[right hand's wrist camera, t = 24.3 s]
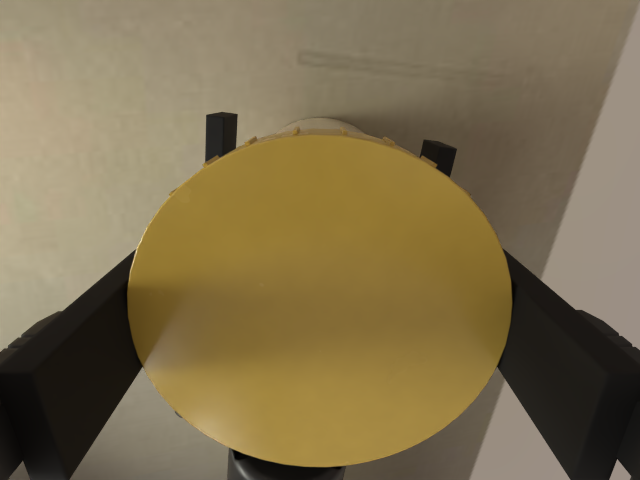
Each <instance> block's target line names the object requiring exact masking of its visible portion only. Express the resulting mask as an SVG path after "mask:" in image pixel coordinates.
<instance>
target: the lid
mask: <svg viewBox="0 0 640 480" xmlns="http://www.w3.org/2000/svg"><path fill="white" fill-rule="evenodd" d="M203 166H204V168H203V169H201V170H200V171H198V172H197V173H196V174H195V175H193V176H192V177H191V178H190V179H188V180H187V181H186V182H184V183H183V184H182V185H181V186H179V187H178V188H176V189H175V190H173V191H172V192H171V193H170V194H169V195H170V197H169V198H168V199H167V200H166V201H165V202H164V203H163V204H162V206H161V207H160V208H159V210H158V211H157V213H156V214H155V216H154V217H153V219H152V220H151V222H150V223H149V224H148V226H147V228H146V230H145V232H144V234H143V236H142V238H141V240H140V242H139V245H138V247H137V249H136V253H135V256H134V259H133V263H132V266H131V269H130V276H129V283H128V291H127V308H128V319H129V324H130V329H131V334H132V339H133V343H134V346H135V349H136V352H137V355H138V358H139V360H140V362H141V364H142V366H143V368H144V370H145V372H146V374H147V376H148V377H149V379H150V380H151V382H152V383H153V385H154V386H155V388H156V389H157V390H158V392H159V393H160V395H161V396H162V397H163V398H164V399H165V400H166V401H167V403H168V404H169V405H170V406H171V407H172V408H173V409H174V410H175V411H176V412H177V413H178V414H179V415H180V416H182V417H183V418H184V419H185V420H186V421H187V422H188V423H190V424H191V425H192V426H194V427H195V428H197V429H198V430H199V431H201V432H202V433H204V434H205V435H207V436H208V437H210V438H212V439H214V440H216V441H217V442H219V443H221V444H223V445H225V446H227V447H229V448H232V449H234V450H236V451H238V452H241V453H243V454H246V455H249V456H253V457H256V458H259V459H262V460H266V461H271V462H275V463H280V464H286V465H294V466H303V467H334V466H347V465H353V464H359V463H365V462H370V461H373V460H377V459H381V458H384V457H388V456H391V455H393V454H396V453H398V452H401V451H404V450H406V449H409V448H411V447H413V446H415V445H417V444H419V443H420V442H422V441H424V440H426V439H428V438H429V437H431V436H433V435H434V434H436V433H437V432H439V431H440V430H442V429H444V428H445V427H446V426H447V425H448V424H450V423H451V422H452V421H453V420H455V419H456V418H457V417H458V416H460V415H461V414H462V413H463V412H464V410H465V409H466V408H467V407H468V406H469V405H470V404H471V403H472V402H473V401H474V400H475V399H476V398H477V396H478V395H479V394H480V392H481V391H482V390H483V388H484V387H485V386H486V384H487V383H488V381H489V379H490V378H491V376H492V374H493V372H494V371H495V369H496V367H497V365H498V363H499V361H500V358H501V356H502V353H503V351H504V348H505V346H506V341H507V337H508V332H509V328H510V323H511V314H512V287H511V278H510V273H509V269H508V264H507V260H506V257H505V254H504V251H503V249H502V246H501V244H500V241H499V239H498V236H497V234H496V233H495V231H494V229H493V227H492V226H491V224H490V223H489V221H488V219H487V218H486V216H485V214H484V213H483V212H482V211H481V209H480V208H479V207H478V206H477V205H476V203H475V202H474V201H473V200H472V198H471V197H470V195H471V194H470V193H469V192H467V191H466V190H464V189H463V188H461V187H460V186H458V185H457V184H456V183H455V182H454V181H453V180H451V179H450V178H449V177H448V176H447V175H445V174H444V173H442V172H440V171H439V170H437V169H436V166H437V164H436V163H434V162H432V161H431V160H429V159H427V158H426V157H424V156H422V157H421V158H419V157H418V156H416V155H414V154H413V153H411V152H410V151H408V150H406V149H403V148H401V147H399V146H397V145H395V142H393V141H392V140H390V139H389V138H387V137H385V136H384V137H383V139H380V138H376V137H373V136H370V135H367V134H364V133H358V132H352V131H347V130H346V128H345V127H342V126H340V129H315V128H312V129H303V130H300V127H299V126H297V127H295V128H294V130H293V131H286V132H282V133H278V134H273V135H269V136H265V137H262V138H259V139H257V137H256V136H255V137H252V138H251V139H249V140H248V141H246V142H245V144H244V145H242V146H239V147H238V148H236V149H234V150H232V151H231V152H229V153H227V154H225V155H224V156H222V157H220V158H219V157H218V155H217V156H215V157H214V158H212V159H210V160H209V161H207V162H205V163H204V164H203Z"/></svg>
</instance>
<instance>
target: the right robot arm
mask: <svg viewBox="0 0 640 480" xmlns="http://www.w3.org/2000/svg"><path fill="white" fill-rule="evenodd" d="M502 249H503V248H502ZM503 251H504V254H505V257H506V260H507V264H508V269H509V273H510V278H511V287H512V314H511V323H510V328H509V332H508V337H507V341H506V346H505V348H504V351H503V353H502V356H501V358H500V361H499V363H498V365H497V367H498V369H499V370H500V372H501V373H502V375H503V376H504V378H505V379H506V381H507V383H508V384H509V386H510V387H511V389H512V390H513V392H514V393H515V395H516V396H517V398H518V400H519V401H520V402H521V404H522V406H523V407H524V409H525V410H526V412H527V413H528V415H529V416H530V418H531V420H532V421H533V423H534V424H535V426H536V427H537V429H538V430H539V432H540V433H541V435H542V436H543V438H544V439H545V441H546V443H547V444H548V446H549V447H550V449H551V450H552V452H553V453H554V455H555V456H556V458H557V460H558V461H559V462H560V464H561V466H562V467H563V469H564V470H565V472H566V473H567V475H568V477H569V478H570V480H609V479H610V476H611V474H612V471H613V468H614V466H615V463H616V461H617V459H618V460H619V462H620V463H621V464H622V465H623V466H624V468H625V469H626V470H627V471H628V473H629V474H630V475H631V479H630V480H640V350H639V349H637V348H636V347H632V344H631V343H630V342H629V341H627V340H626V339H625V338H624V337H622V336H619V333H618V332H616V331H615V330H614V329H613V328H611V327H610V326H609V325H608V324H606V323H605V322H604V321H602V320H600V319H598V318H596V317H594V316H592V315H591V314H589V313H587V312H585V311H583V310H575V309H574V308H573V307H571V306H570V305H569V304H568V303H567V302H566V301H564V300H563V299H562V298H561V297H560V296H558V295H557V294H556V293H555V292H554V291H553V290H551V289H550V288H549V287H548V286H547V285H545V284H544V283H543V282H542V281H541V280H540V279H538V278H537V277H536V276H535V275H534V274H532V273H531V272H530V271H529V270H528V269H527V268H525V267H524V266H523V265H522V264H521V263H519V262H518V261H517V260H516V259H515V258H514V257H512V256H511V255H510V254H509V253H508V252H506V251H505V250H504V249H503ZM135 253H136V250H134V251H133V252H132V253H131V254H130V255H129V256H127V257H126V258H125V259H124V260H123V261H121V262H120V263H119V264H118V265H117V266H116V267H114V268H113V269H112V270H111V271H110V272H108V273H107V274H106V275H105V276H104V277H103V278H101V279H100V280H99V281H98V282H97V283H95V284H94V285H93V286H92V287H91V288H90V289H88V290H87V291H86V292H85V293H84V294H82V295H81V296H80V297H79V298H78V299H76V300H75V301H74V302H73V303H72V304H71V305H69V306H68V307H67V308H66V309H65V310H63V311H58V312H56V313H54V314H52V315H50V316H48V317H46V318H44V319H43V320H41V321H39V322H37V323H36V324H34V325H33V326H32V327H31V328H29V329H28V330H27V331H26V332H24V333H23V334H22V335H21V338H17V339H16V340H15V341H13V342H12V343H11V344H10V345H8V348H7V349H3V350H2V351H1V352H0V480H10V479H9V477H10V476H11V475H12V473H13V472H14V471H15V470H16V468H17V467H18V466H19V465H20V463H21V462H22V461H23V462H24V464H25V467H26V469H27V472H28V475H29V477H30V480H69V479H70V478H71V476H72V475H73V473H74V471H75V470H76V468H77V467H78V465H79V464H80V462H81V461H82V459H83V458H84V456H85V455H86V453H87V451H88V450H89V448H90V447H91V445H92V444H93V442H94V441H95V439H96V438H97V436H98V435H99V433H100V431H101V430H102V428H103V427H104V425H105V424H106V422H107V421H108V419H109V418H110V416H111V415H112V413H113V411H114V410H115V408H116V407H117V405H118V404H119V402H120V401H121V399H122V398H123V396H124V394H125V393H126V391H127V390H128V388H129V387H130V385H131V384H132V382H133V381H134V379H135V378H136V376H137V374H138V373H139V371H140V370H141V368H142V367H143V366H142V364H141V362H140V360H139V358H138V355H137V352H136V349H135V346H134V343H133V339H132V334H131V329H130V324H129V319H128V308H127V291H128V283H129V276H130V269H131V266H132V263H133V259H134V256H135Z"/></svg>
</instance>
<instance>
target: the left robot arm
mask: <svg viewBox="0 0 640 480" xmlns="http://www.w3.org/2000/svg"><path fill="white" fill-rule="evenodd" d="M237 116H238V114H233V113H225V112H219V113H214V114H209V115H206V155H205V162H207V161H209V160H210V159H212V158H214V157H215V156H217V155H218V157H219V158H220V157H222V156H224V155H225V154H227V153H229V152H231V151H232V150H234V149H236V136H237ZM456 151H457V149H456V148H453V147H451V146H448V145H446V144H444V143H441V142H438V141H431V140H424V141H423V145H422V150H421V154H420V158H421V157H422V156H424V157H426V158H427V159H429V160H431V161H432V162H434V163H436V164H437V166H436V169H437V170H439V171H440V172H442V173H444V174H445V175H447V176H448V177H449V178H450V174H451V170H452V166H453V163H454V159H455V155H456ZM175 413H176V414H177V415H178V416H179V417H181V418H183V417H182V416H180V415H179V414H178V413H177V412H176V411H175ZM345 467H346V466H334V467H303V466H294V465H286V464H280V463H275V462H271V461H266V460H262V459H259V458H256V457H253V456H249V455H246V454H243V453H241V452H238V451H236V450H234V449H232V448H229V457H228V474H227V480H343V477H344V472H345Z"/></svg>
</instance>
